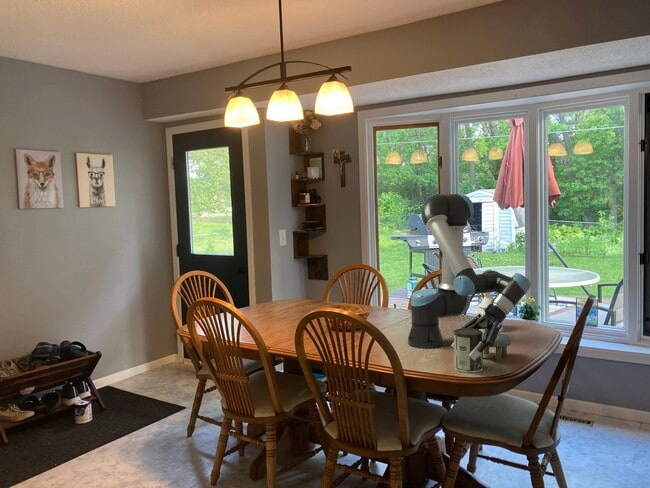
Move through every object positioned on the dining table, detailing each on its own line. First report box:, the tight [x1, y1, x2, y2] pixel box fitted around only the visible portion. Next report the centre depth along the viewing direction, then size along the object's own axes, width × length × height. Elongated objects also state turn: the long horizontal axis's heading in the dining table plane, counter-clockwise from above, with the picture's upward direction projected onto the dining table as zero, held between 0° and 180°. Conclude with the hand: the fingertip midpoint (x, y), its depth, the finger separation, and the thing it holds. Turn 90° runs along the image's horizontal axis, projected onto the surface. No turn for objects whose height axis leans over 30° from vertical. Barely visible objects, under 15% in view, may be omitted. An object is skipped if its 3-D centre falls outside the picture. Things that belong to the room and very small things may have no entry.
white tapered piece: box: [475, 293, 504, 333], centre depth 252 cm, size 13×13×18 cm
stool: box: [482, 332, 512, 363], centre depth 209 cm, size 14×14×8 cm
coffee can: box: [453, 327, 484, 374], centre depth 196 cm, size 10×10×14 cm
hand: (462, 352), depth 195 cm, fingers open, 13 cm apart
